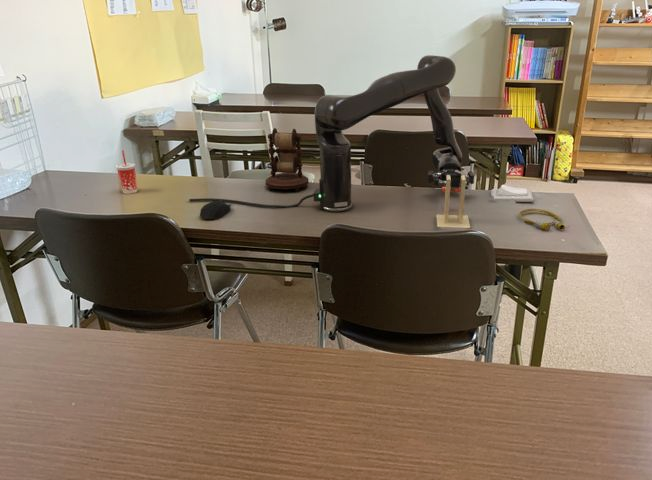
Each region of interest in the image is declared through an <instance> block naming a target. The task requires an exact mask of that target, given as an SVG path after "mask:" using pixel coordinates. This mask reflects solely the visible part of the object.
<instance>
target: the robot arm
mask: <svg viewBox="0 0 652 480" xmlns="http://www.w3.org/2000/svg"><path fill="white" fill-rule="evenodd" d="M416 67H417V68H416V69H409V70H402V71H396V72H392V73H389V74H387V75H384V76H382V77H379V78H377V79H375V80H374V81H372V82H371V84H370V85H369V86H368V88H366V90H364V91H363V92H360V93H357V94H354V95H350V96H339V95H332V94H326V95H323V96H321V97H320V98H319V99H318V100H317V102H316V104H315V108H314V127H315V137H316V143H317V145H318V148H319V168H320V169H319V170H320V171H319V173H320V177H319V179H318V183H319V185H318V186H319V187H317V188H315V190H314V191H313V193H312V194H309V195H305V196H303V197H302V198H301V199H300V200H299V202H298V203H297V202H296V203H294V204H290V205H283V204H282V205H280V204H264V203H257V202H256V203H255V202H248V201H242V200H237V199H236V200H235V199H226V198H213V197H211V198H210V197H208V198H207V197H206V198H205V197H204V198H189V202H206V201H210V202H212V201H216V200H217V201H220V200H221V201H222V202H224V203H225V202H226V203H235V204H241V205H246V206H247V205H248V206H254V207H261V208H275V209H276V208H277V209H278V208H280V209H287V208H288V209H289V208H295V207H298V206H300V205H301V204H302V203H303V201H305V200H307V199H311V198H313V202H319V210H321V211H326V212H330V213H331V212H332V213H340V212H341V213H342V212H345V211H348V210H351V209H352V206H353V204H352V146H351V142H350V141H349V139H347V138H346V136H345V135H344V133H343V131H346V130H348V129H350V128H352V127H354V126H355V125H358V124H359V123H361V122H363V121H364V120H365V119H367V118H369V117H371V116H373V115H376V114H378V113H381V112H383V111H385V110H388V109H391V108H393V107H396V106H398V105H401V104H402V103H404V102H406V101H408V100H411V99H413V98H415V97H418V96H419V95H421V94H423V98H424V101H425V103H426V106H427V110H428V112H429V113H428V114H429V116H430V120H431V121H430V122H431V126H432V133H433V139H434V142H435V144H436V145H439V146H446V147H443V148H439V149H436V150H435V151H434V152H433V153H432V157H431V158H432V164H433V166H434V168H435V169H436V170H437V172H435V171H433V170H432V169H429V170H428V174H427V183H428V184H432V183H433V185H434V186H435V187H439V186H440V184H444V182H445V181H446V175H450V178H451V180H452V179H460V183H461V175H464V176H465V179H466V181H467V186H466V187H465V188H467V187H468V186H470V184H471V185H473V184H475V174H474V172H473V171H472V170H468V171H467V172H466V173H465V172H464V171H463V170H462V166H461V164H462V163H463V161H464V156H463V153H462V150H461V148H460V146H459V144H458V142H457V139H456V136H455V128H454V121H453V118H452V114H451V112H450V110H449V109H448V107H447V105H446V104H445V102H444V100H443V98H442V96H441V94H440V90H439V89H440V88H443V87H446V86H447V85H449V84H450V83H452V81H453V80H454V78H455V75H456V71H457V67H456V64H455V62H454V61H453V60H452V59H451V58H449V57H448V56H447V57H446V56H444V55H433V54H432V55H431V54H428V55H424V56H423V57H421V58H420V60H419V61H418V64H417V66H416Z"/></svg>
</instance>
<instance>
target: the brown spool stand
mask: <svg viewBox="0 0 652 480" xmlns="http://www.w3.org/2000/svg"><path fill="white" fill-rule="evenodd" d="M267 139H268V143H269V144H268V150H267V151H268V154H269V155H270V157H269V161H270V162H269V166H270V169H271V170H270V176H269V177H267V178H266V179H265V180H264V181H265V182H264V183H265V186H266V187H267V188H268V190H269V191H272V189H276V190H293V189H294V190H295V192H299V189H300V188H303V187H305V186H307V185H308V184H309V182H310V181H309V178H308V177H307V176H305V175H304V174H303V171H302V170H303V168H302V167H303V162H302V155H303V150H302V148H301V147H302V144H301V139H302V136H301V135H300V134H298V133H297V130H296V128H293V129H292V131H291V132H290V133H289V132H288V133H287V132H286V133H285V132H278V129H277V128H276V127H274V128H273V129H272V131H271V133H269V134H268V135H267ZM274 147H275V148H274ZM275 153H276V154H278V155H279V156H278V155H275ZM274 155H275V156H274Z"/></svg>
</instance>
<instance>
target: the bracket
mask: <svg viewBox="0 0 652 480" xmlns="http://www.w3.org/2000/svg"><path fill="white" fill-rule="evenodd" d="M443 184H444V186H443V187H446V191H445V192H444V193H445V194H444V207H443V208H444V210H443V214H436V227H437V228H456V229H471V224H470V220H469V215H466V214H465V215H464V208H465V197H466V195H465V193H466V188H467V187H468V186H467V181H466V179H465V176H464V175H461V183H460V192H459V198H458V211H457V214H449V212H450V196H451V192H450V187H451V178H450V175H446V181H445V182H444V183H443ZM466 186H467V187H466Z"/></svg>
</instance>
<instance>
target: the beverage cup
mask: <svg viewBox="0 0 652 480" xmlns="http://www.w3.org/2000/svg"><path fill="white" fill-rule="evenodd" d="M121 153H122V159H123V163H120V164H117V165H116V166H115V168H116V169H115V170H117V174H118V178H119V182H120V187H121V189H122V193H123V194H127V195H128V194H129V195H130V194H136V193H137V192H138V181H137V174H136V173H137V172H136V164H135V163H131V162H128V163H126V156H125V152H124V150H122V151H121Z"/></svg>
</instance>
